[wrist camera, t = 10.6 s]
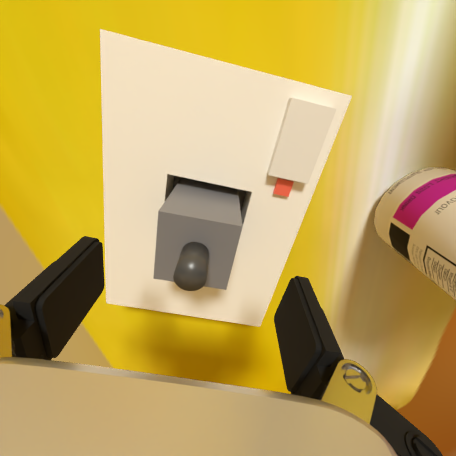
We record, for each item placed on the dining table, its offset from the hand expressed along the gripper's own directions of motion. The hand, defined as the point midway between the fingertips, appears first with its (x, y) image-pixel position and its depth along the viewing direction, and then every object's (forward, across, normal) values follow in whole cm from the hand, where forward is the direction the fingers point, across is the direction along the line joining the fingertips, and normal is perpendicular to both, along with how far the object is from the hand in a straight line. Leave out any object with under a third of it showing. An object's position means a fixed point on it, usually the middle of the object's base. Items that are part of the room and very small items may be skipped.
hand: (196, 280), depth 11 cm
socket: (+12, 0, +1) cm, 12 cm away
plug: (+11, 0, +1) cm, 11 cm away
